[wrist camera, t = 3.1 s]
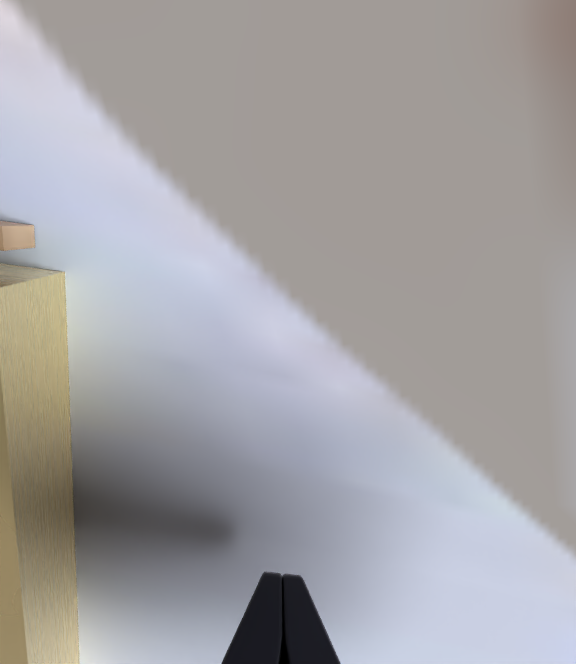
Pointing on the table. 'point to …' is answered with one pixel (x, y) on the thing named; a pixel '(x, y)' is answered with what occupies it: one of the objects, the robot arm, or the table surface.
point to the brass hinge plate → (36, 472)
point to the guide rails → (16, 236)
